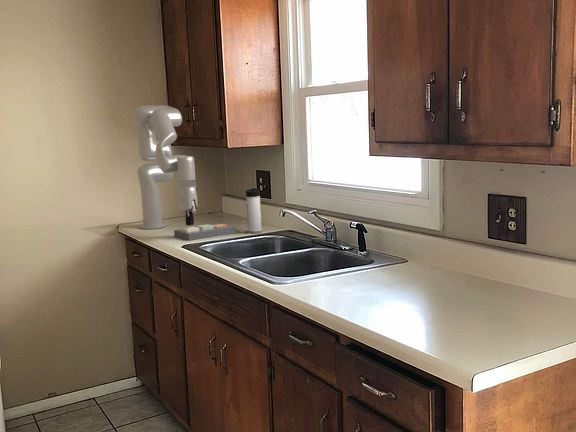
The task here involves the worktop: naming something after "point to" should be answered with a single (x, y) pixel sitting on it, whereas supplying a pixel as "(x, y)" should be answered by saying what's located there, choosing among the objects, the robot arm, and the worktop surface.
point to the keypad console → (205, 233)
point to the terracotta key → (220, 225)
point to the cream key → (189, 229)
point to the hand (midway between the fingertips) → (190, 224)
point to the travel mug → (253, 210)
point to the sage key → (205, 227)
